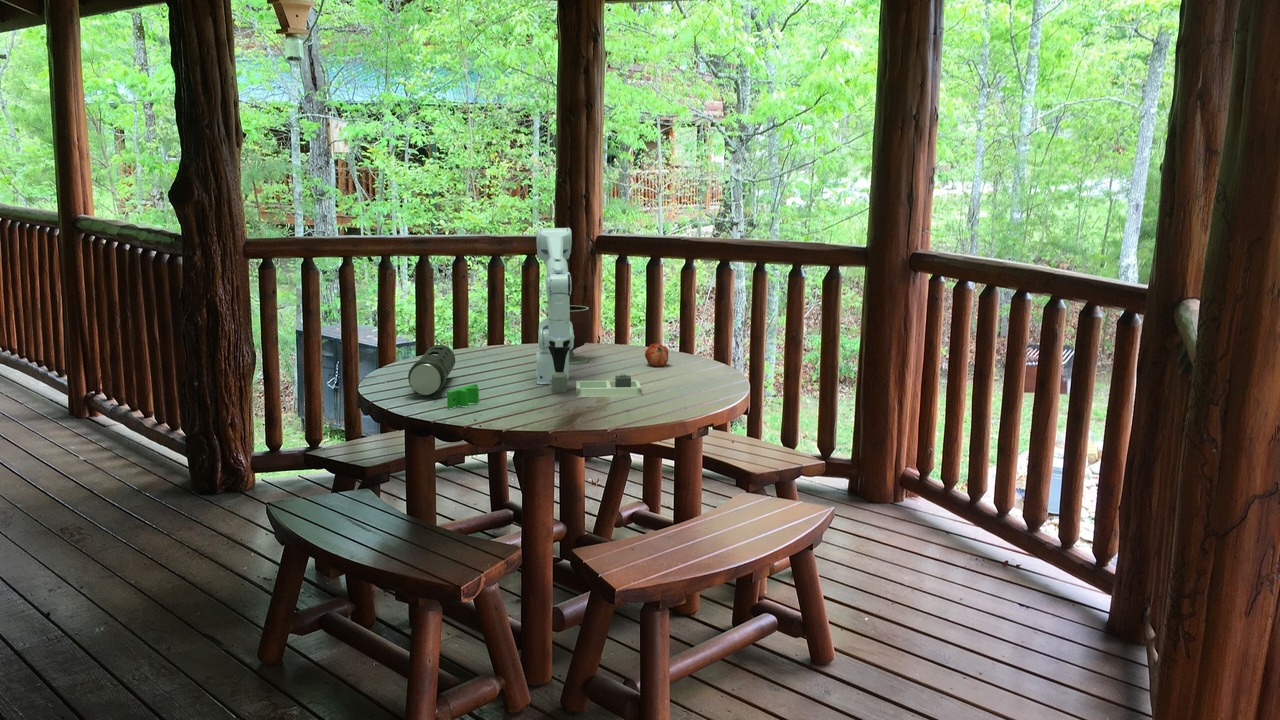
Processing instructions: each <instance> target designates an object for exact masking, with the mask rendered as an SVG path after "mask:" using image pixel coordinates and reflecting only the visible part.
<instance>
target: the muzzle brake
mask: <svg viewBox="0 0 1280 720" xmlns="http://www.w3.org/2000/svg"><path fill="white" fill-rule="evenodd" d="M455 364H456V355H455V353H454V351H453V350H452V349H451V348H450V347H449V346H447V345H444V344H436V345H433V346H431V347H429V348H427V350H426V352H424V354H423V355H422V356H421V357H420V358H419V360H417V361H416V362H415V363H414V364H413V365H412V366H411V367H410V369H409V372H408V374H407V375H408V376H407V379H408V384H409V386H410V388H411V389H412V391H414V392H415V393H417V394H419V395H421V396H432V395H433V396H434V395H435V394H437V393H439V392H440V391H441V389H442V388H443V386H444V385H445V384H446V381H447V379H448V377H449V375H450V374H451V372H452V371H453V369H454V367H455V366H456V365H455Z"/></svg>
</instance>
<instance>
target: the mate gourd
mask: <svg viewBox="0 0 1280 720" xmlns="http://www.w3.org/2000/svg"><path fill="white" fill-rule="evenodd" d="M543 304H546V305H548V301H547V300H543ZM546 314H547V315H546V318H547V317H548V312H547V313H546ZM570 322H571V323H572V325H573V334H574V346H573V348H572V350H570V349H569V366H575V365H584V364H587V363H588V362H589V358H587V357H585V356H580V355H579V356H578V355H575V352H574V350H576V349H578V348H580V347H583V346H585V345H586V343H587V341H588V340H589V337H590V333H591V315H590V310H589V307H588V306H584V305H574V304H573V305H571V304H570Z"/></svg>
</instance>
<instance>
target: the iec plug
mask: <svg viewBox="0 0 1280 720" xmlns="http://www.w3.org/2000/svg"><path fill="white" fill-rule="evenodd" d="M551 393H552V394H553V393H568V379H567V375H565V372H553V375H552V380H551Z"/></svg>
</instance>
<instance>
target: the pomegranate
mask: <svg viewBox="0 0 1280 720" xmlns="http://www.w3.org/2000/svg"><path fill="white" fill-rule="evenodd" d="M644 352H645V353H644V357H645V359H646V361H647V363H648V365H650V366H651V367H663V366H665V365H667V364H668V362H669V350H668V347H667V346H666V345H662V344H660V343H658V342H657V343H656V342H655V343H651V344H650V345H649V346H648V347H647V348H646V350H645V351H644Z"/></svg>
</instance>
